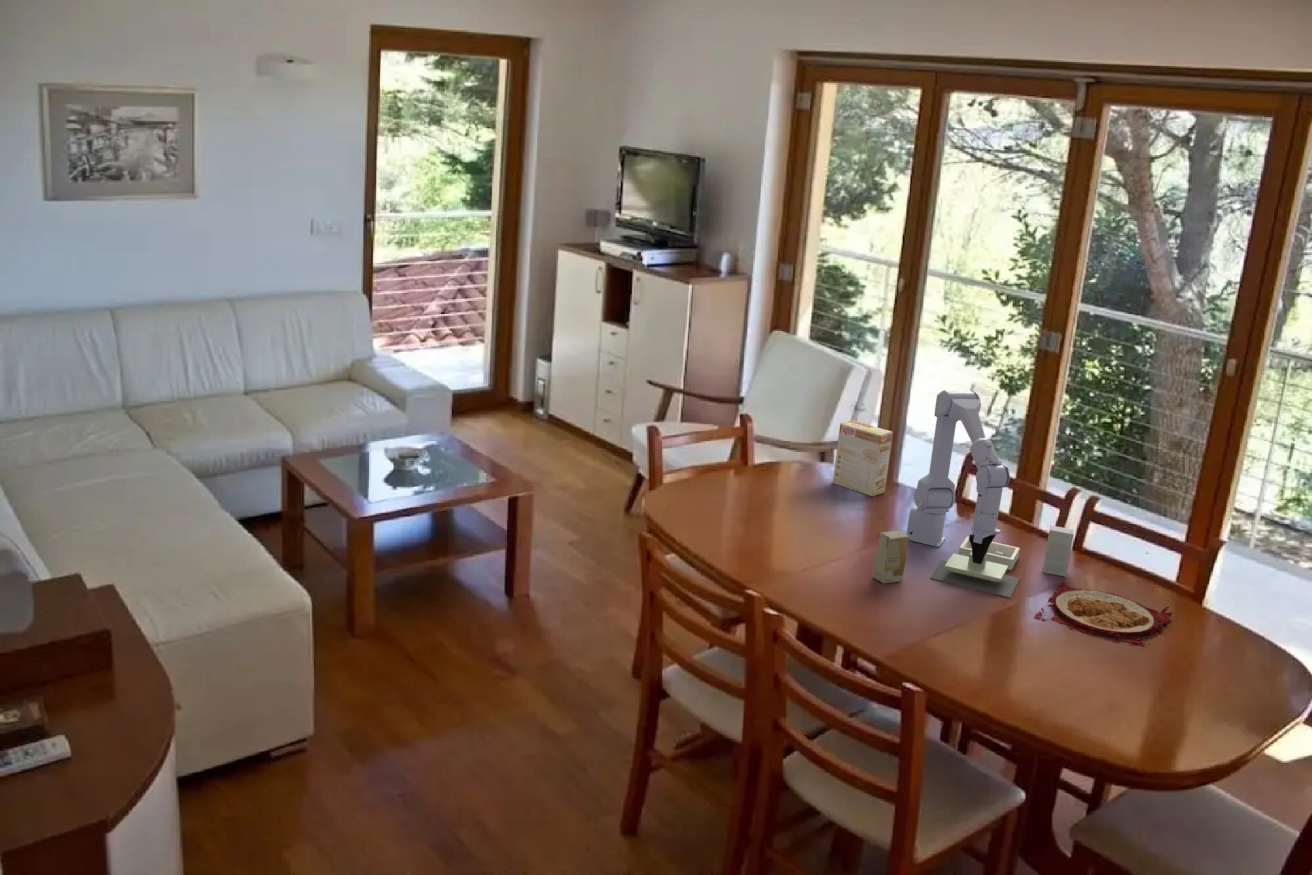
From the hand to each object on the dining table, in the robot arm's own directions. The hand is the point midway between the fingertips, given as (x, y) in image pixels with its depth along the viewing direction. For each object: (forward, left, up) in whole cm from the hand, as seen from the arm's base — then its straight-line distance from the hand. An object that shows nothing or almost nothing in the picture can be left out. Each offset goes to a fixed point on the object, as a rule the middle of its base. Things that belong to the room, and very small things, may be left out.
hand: (978, 561), depth 307 cm
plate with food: (+32, -5, -6) cm, 33 cm away
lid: (0, 0, -2) cm, 2 cm away
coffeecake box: (-46, +51, -5) cm, 69 cm away
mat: (0, 0, -5) cm, 5 cm away
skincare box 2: (+17, +18, -5) cm, 25 cm away
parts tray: (0, +17, -5) cm, 18 cm away
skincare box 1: (-19, -14, -5) cm, 24 cm away
